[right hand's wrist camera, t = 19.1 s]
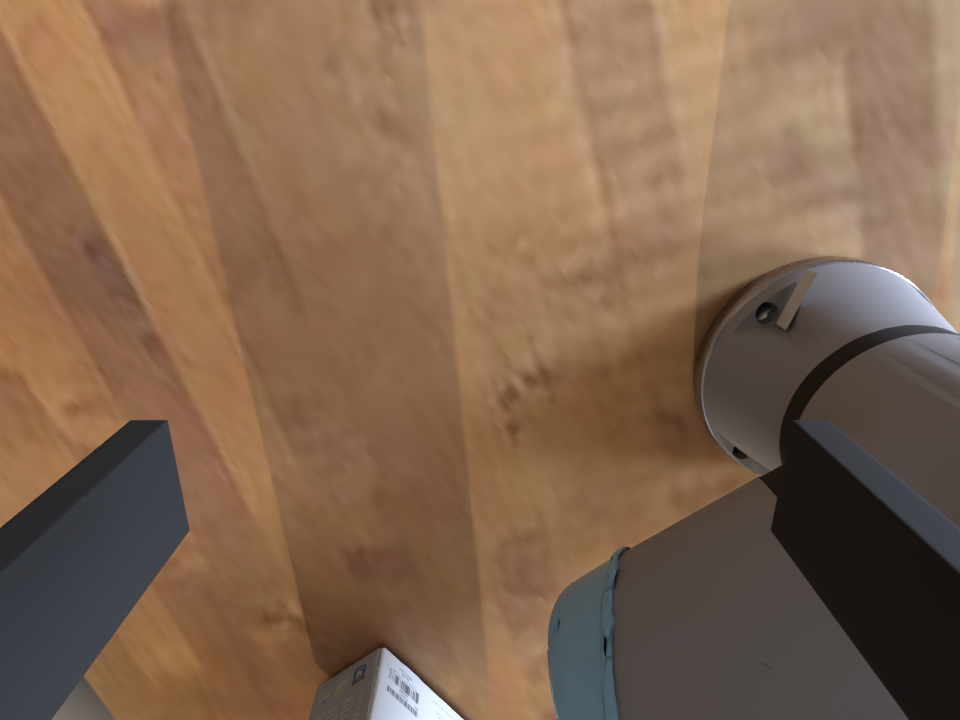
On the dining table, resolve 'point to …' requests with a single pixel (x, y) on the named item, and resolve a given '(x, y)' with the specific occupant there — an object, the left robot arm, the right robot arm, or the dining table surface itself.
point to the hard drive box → (378, 693)
